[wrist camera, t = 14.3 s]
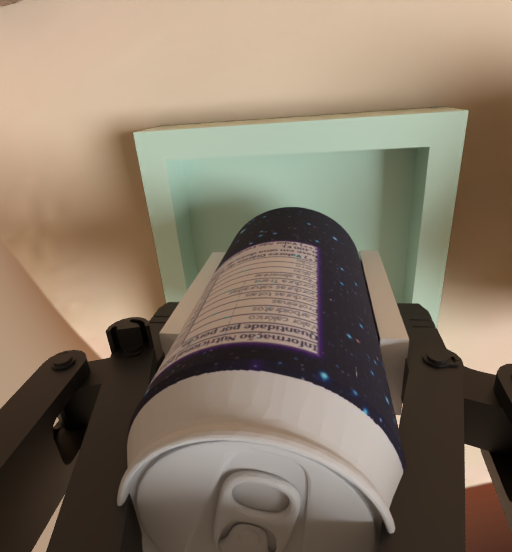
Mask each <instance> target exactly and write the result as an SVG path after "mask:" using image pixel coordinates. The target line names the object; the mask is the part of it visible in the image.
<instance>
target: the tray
mask: <svg viewBox="0 0 512 552" xmlns="http://www.w3.org/2000/svg"><path fill="white" fill-rule="evenodd" d="M468 112H469V110H464V109H457V108H451V107H433V108H418V109H404V110H389V111H374V112H359V113H345V114H330V115H315V116H301V117H286V118H271V119H256V120H242V121H227V122H212V123H198V124H183V125H168V126H158V127H154V128H149V129H145V130H141V131H137V132H133V135H134V140H135V145H136V151H137V156H138V161H139V166H140V171H141V176H142V181H143V187H144V192H145V197H146V202H147V207H148V212H149V218H150V223H151V228H152V233H153V238H154V243H155V249H156V254H157V259H158V264H159V269H160V274H161V280H162V285H163V290H164V295H165V300H166V303H168V302H180V301H181V299H182V298H183V296H184V295H185V293H186V292H187V290H188V289H189V287H190V286H191V284H192V283H193V281H194V280H195V278H196V277H197V275H198V274H199V272H200V271H201V269H202V268H203V266H204V265H205V263H206V262H207V260H208V259H209V257H210V256H211V254H212V253H213V252H227V250H228V248H229V247H230V245H231V243H232V241H233V240H234V238H235V236H236V235H237V233H238V232H239V231H240V230H241V228H242V227H243V226H244V225H245V224H246V223H248V222H249V221H250V220H252V219H253V218H254V217H256V216H258V215H260V214H262V213H264V212H267V211H269V210H273V209H277V208H283V207H301V208H307V209H311V210H314V211H317V212H320V213H322V214H324V215H326V216H328V217H330V218H331V219H333V220H334V221H336V222H337V223H338V224H339V225H341V226H342V227H343V228H344V229H345V230H346V232H347V233H348V234H349V236H350V237H351V239H352V240H353V242H354V244H355V246H356V248H357V251H358V254H359V251H371V250H378V252H379V255H380V258H381V260H382V263H383V266H384V269H385V272H386V275H387V277H388V280H389V283H390V286H391V289H392V292H393V295H394V297H395V300H396V303H419V304H420V305H421V306H423V307H424V308H425V309H426V310H428V311H429V313H430V316H431V318H432V321H433V322H434V324H435V326H436V328H437V323H438V316H439V309H440V303H441V296H442V289H443V282H444V275H445V269H446V262H447V255H448V248H449V241H450V235H451V228H452V221H453V214H454V207H455V201H456V194H457V187H458V180H459V173H460V167H461V160H462V153H463V146H464V139H465V133H466V126H467V119H468Z"/></svg>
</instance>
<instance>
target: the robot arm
mask: <svg viewBox="0 0 512 552" xmlns="http://www.w3.org/2000/svg"><path fill="white" fill-rule="evenodd" d="M225 253H226V252H213V253H212V254H211V256H210V257H209V259H208V260H207V262H206V263H205V265H204V266H203V268H202V269H201V271H200V272H199V274H198V275H197V277H196V278H195V280H194V281H193V283H192V284H191V286H190V287H189V289H188V290H187V292H186V293H185V295H184V296H183V298H182V299H181V301H180V302H168V303H166V304H165V305H163V306H162V307H160V308H159V309H158V310H157V312H156V313H155V314H154V317H152V318H151V320H150V321H147V320H146V319H144V318H140V317H132V318H127V319H122V320H120V321H118V322H115V323H114V324H112V325H111V326H109V327H108V329H107V330H106V334H107V338H108V341H109V345H110V349H111V352H112V354H111V357H110V358H106V359H101V360H96V361H90V362H88V361H87V358H86V354H85V353H84V352H82V351H78V350H71V351H64V352H61V353H58V354H56V355H55V356H53V357H50V358H49V359H48V360H47V361H46V362H44V363H43V364H42V365H41V366H40V367H39V368H38V370H37V371H36V372H35V373H34V374H33V375H32V376H31V377H30V378H29V379H28V380H27V381H26V382H25V383H24V384H23V385H22V387H21V388H20V389H19V390H18V391H17V392H16V393H15V394H14V395H13V396H12V397H11V398H10V399H9V400H8V401H7V403H6V404H5V405H4V406H3V407H2V408H1V409H0V552H31V551H32V549H33V548H34V546H35V544H36V543H37V541H38V539H39V537H40V535H41V534H42V532H43V531H44V529H45V527H46V526H47V524H48V522H49V520H50V519H51V517H52V515H53V513H54V512H55V510H56V508H57V507H58V505H59V503H60V501H61V500H62V498H63V496H64V495H65V497H64V499H63V502H62V506H61V508H60V512H59V515H58V517H57V520H56V523H55V527H54V530H53V533H52V536H51V539H50V542H49V545H48V548H47V551H46V552H143V548H142V532H141V528H140V525H139V521H138V518H137V515H136V512H135V508H134V505H133V502H132V499H131V496H130V494H129V495H128V497H127V499H126V501H125V502H124V504H123V505H121V506H118V505H117V496H118V490H119V486H120V483H121V480H122V478H123V476H124V474H125V472H126V470H127V469H128V465H127V435H128V428H129V424H130V421H131V418H132V415H133V413H134V411H135V409H136V407H137V405H138V404H139V402H140V400H141V399H142V397H143V395H144V393H145V392H146V390H147V388H148V386H149V385H150V383H151V381H152V380H153V378H154V376H155V374H156V373H157V371H158V369H159V367H160V366H161V364H162V362H163V361H164V359H165V357H166V355H167V354H168V352H169V350H170V348H171V347H172V345H173V343H174V342H175V340H176V338H177V336H178V335H179V333H180V331H181V329H182V328H183V326H184V324H185V323H186V321H187V319H188V317H189V316H190V314H191V312H192V310H193V309H194V307H195V305H196V304H197V302H198V300H199V298H200V297H201V295H202V293H203V291H204V290H205V288H206V286H207V285H208V283H209V281H210V279H211V278H212V276H213V274H214V272H215V271H216V269H217V267H218V266H219V264H220V262H221V260H222V259H223V257H224V255H225ZM359 258H360V262H361V267H362V271H363V276H364V280H365V284H366V289H367V293H368V298H369V302H370V306H371V311H372V315H373V319H374V324H375V328H376V333H377V337H378V341H379V346H380V350H381V355H382V359H383V363H384V368H385V372H386V376H387V381H388V385H389V390H390V394H391V398H392V403H393V407H394V412H395V415H401V418H400V424H399V433H400V438H401V442H402V447H403V451H404V455H405V460H406V467H405V470H404V472H403V475H402V477H401V480H400V482H399V484H398V487H397V489H396V491H395V494H394V496H393V499H392V502H391V505H390V508H389V511H390V513H391V515H392V518H393V520H394V525H395V531H394V533H391V534H390V533H389V532H388V531H387V529H386V527H385V524H384V521H383V520H382V526H381V532H380V537H379V543H378V549H377V552H465V462H464V444H467V445H471V446H474V447H477V448H480V449H481V453H482V456H483V458H484V461H485V464H486V466H487V469H488V471H489V474H490V477H491V479H492V482H493V485H494V487H495V490H496V493H497V495H498V498H499V501H500V503H501V506H502V508H503V511H504V514H505V516H506V519H507V521H508V524H509V527H510V529H511V532H512V364H506V365H503V366H501V367H500V368H499V370H498V371H497V374H496V375H493V374H488V373H484V372H480V371H476V370H473V369H470V368H467V367H465V366H463V362H462V360H461V358H460V357H458V356H457V355H456V354H455V353H453V352H451V351H449V350H448V349H446V347H445V345H444V343H443V340H442V338H441V336H440V334H439V332H438V330H437V328H436V326H435V324H434V322H433V321H432V318H431V316H430V313H429V311H428V310H426V309H425V308H424V307H423V306H421V305H420V304H419V303H396V300H395V297H394V295H393V292H392V289H391V286H390V283H389V280H388V277H387V275H386V272H385V269H384V266H383V263H382V260H381V258H380V255H379V252H378V250H371V251H359ZM402 403H403V407H402ZM401 408H402V413H401ZM57 417H58V419H59V421H58V423H57V424H56V425H55V426H54V427H53V424H54V422H55V420H56V418H57Z"/></svg>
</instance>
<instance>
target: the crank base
mask: <svg viewBox="0 0 512 552" xmlns="http://www.w3.org/2000/svg"><path fill="white" fill-rule="evenodd" d="M18 1H21V0H0V6H4V5H8V4H13V3H16V2H18Z"/></svg>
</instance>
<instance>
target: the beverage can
mask: <svg viewBox="0 0 512 552" xmlns="http://www.w3.org/2000/svg"><path fill="white" fill-rule="evenodd" d="M127 465H128V469H127V470H126V472H125V474H124V476H123V478H122V480H121V483H120V486H119V490H118V496H117V505H118V506H121V505H123V504H124V502H125V501H126V499H127V497H128V495H129V494H130V496H131V499H132V502H133V505H134V508H135V512H136V515H137V518H138V521H139V525H140V528H141V532H142V548H143V552H377V549H378V543H379V537H380V532H381V526H382V520H383V521H384V524H385V527H386V529H387V531H388V532H389V533H390V534H391V533H394V531H395V525H394V520H393V518H392V515H391V513H390V511H389V508H390V505H391V502H392V499H393V496H394V494H395V491H396V489H397V487H398V484H399V482H400V480H401V477H402V475H403V472H404V470H405V467H406V460H405V455H404V451H403V447H402V442H401V438H400V433H399V429H398V425H397V420H396V416H395V412H394V407H393V403H392V398H391V394H390V390H389V385H388V381H387V376H386V372H385V368H384V363H383V359H382V355H381V350H380V346H379V341H378V337H377V333H376V328H375V324H374V319H373V315H372V311H371V306H370V302H369V298H368V293H367V289H366V284H365V280H364V276H363V271H362V267H361V262H360V258H359V254H358V251H357V248H356V246H355V244H354V242H353V240H352V239H351V237H350V236H349V234H348V233H347V232H346V230H345V229H344V228H343V227H342V226H341V225H339V224H338V223H337V222H336V221H334V220H333V219H331V218H330V217H328V216H326V215H324V214H322V213H320V212H317V211H314V210H311V209H307V208H301V207H283V208H277V209H273V210H269V211H267V212H264V213H262V214H260V215H258V216H256V217H254V218H253V219H252V220H250V221H249V222H248V223H246V224H245V225H244V226H243V227H242V228H241V230H240V231H239V232H238V233H237V235H236V236H235V238H234V240H233V241H232V243H231V245H230V247H229V248H228V250H227V252H226V253H225V255H224V257H223V259H222V260H221V262H220V264H219V266H218V267H217V269H216V271H215V272H214V274H213V276H212V278H211V279H210V281H209V283H208V285H207V286H206V288H205V290H204V291H203V293H202V295H201V297H200V298H199V300H198V302H197V304H196V305H195V307H194V309H193V310H192V312H191V314H190V316H189V317H188V319H187V321H186V323H185V324H184V326H183V328H182V329H181V331H180V333H179V335H178V336H177V338H176V340H175V342H174V343H173V345H172V347H171V348H170V350H169V352H168V354H167V355H166V357H165V359H164V361H163V362H162V364H161V366H160V367H159V369H158V371H157V373H156V374H155V376H154V378H153V380H152V381H151V383H150V385H149V386H148V388H147V390H146V392H145V393H144V395H143V397H142V399H141V400H140V402H139V404H138V405H137V407H136V409H135V411H134V413H133V415H132V418H131V421H130V424H129V428H128V435H127Z"/></svg>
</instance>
